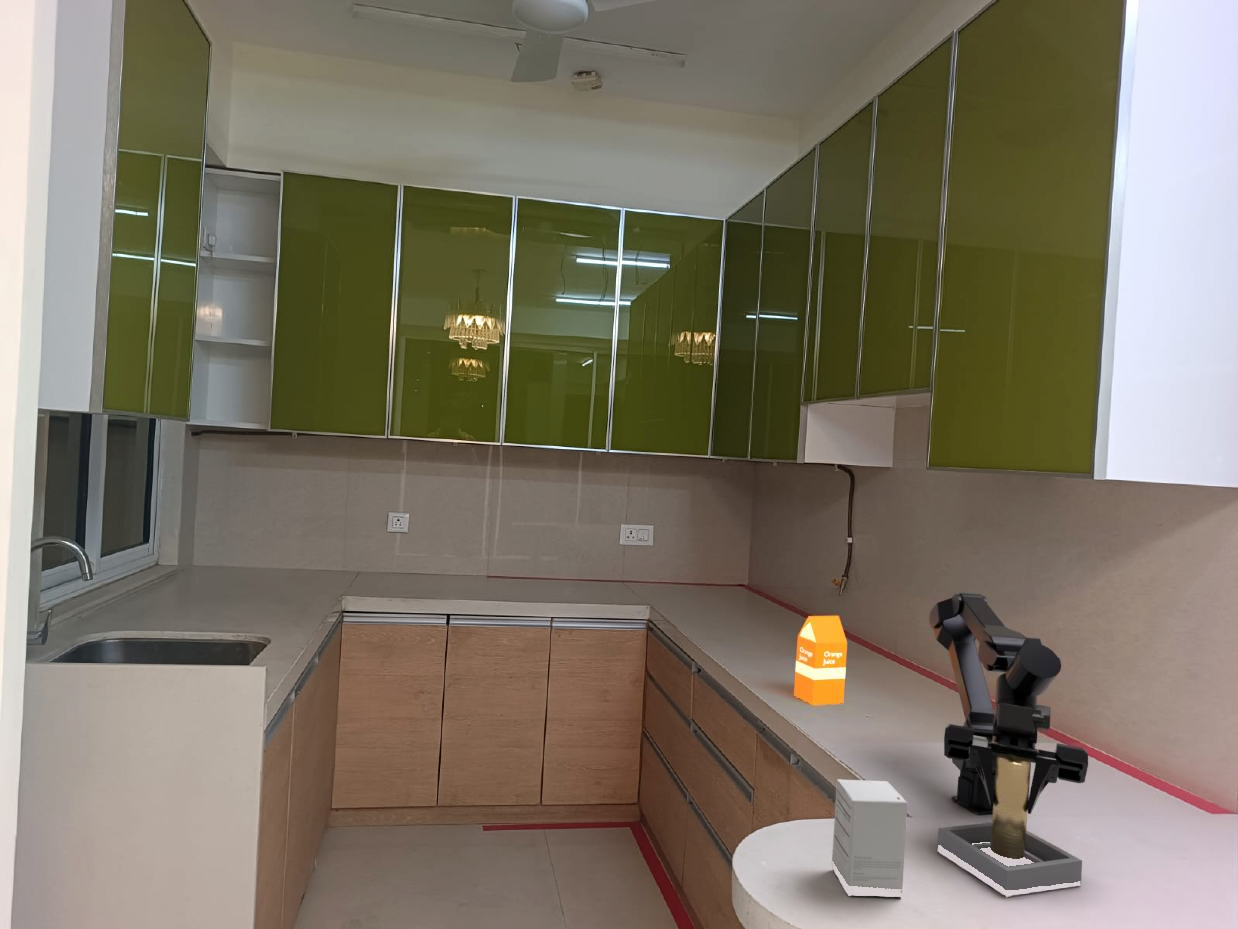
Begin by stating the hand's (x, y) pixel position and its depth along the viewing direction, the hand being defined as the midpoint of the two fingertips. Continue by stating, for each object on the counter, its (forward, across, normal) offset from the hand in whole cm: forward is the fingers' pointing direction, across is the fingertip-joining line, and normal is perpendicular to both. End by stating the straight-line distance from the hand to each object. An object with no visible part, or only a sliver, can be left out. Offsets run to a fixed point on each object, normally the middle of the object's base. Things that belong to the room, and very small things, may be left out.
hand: (1010, 808), depth 118 cm
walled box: (+6, 0, +7) cm, 9 cm away
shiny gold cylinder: (+4, 0, +6) cm, 7 cm away
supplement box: (+17, -17, -4) cm, 24 cm away
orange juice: (-44, -41, +58) cm, 83 cm away
